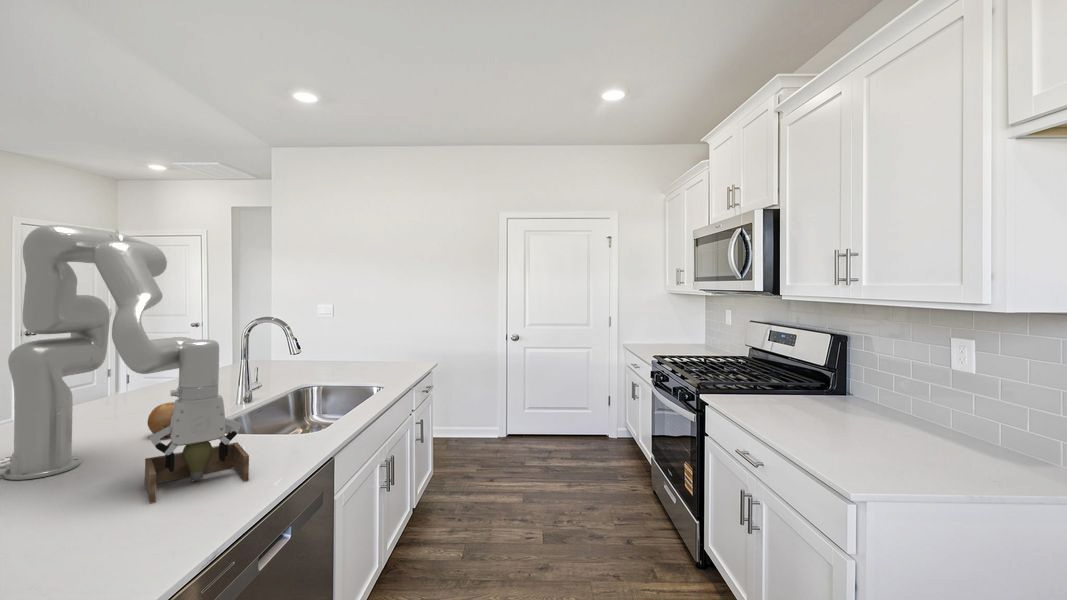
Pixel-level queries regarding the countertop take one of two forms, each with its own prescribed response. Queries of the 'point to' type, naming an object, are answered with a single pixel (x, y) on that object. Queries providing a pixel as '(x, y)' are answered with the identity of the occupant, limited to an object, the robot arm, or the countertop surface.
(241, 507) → the countertop surface
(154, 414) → the onion
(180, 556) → the countertop surface
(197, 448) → the light bulb
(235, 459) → the brown legged wooden frame
